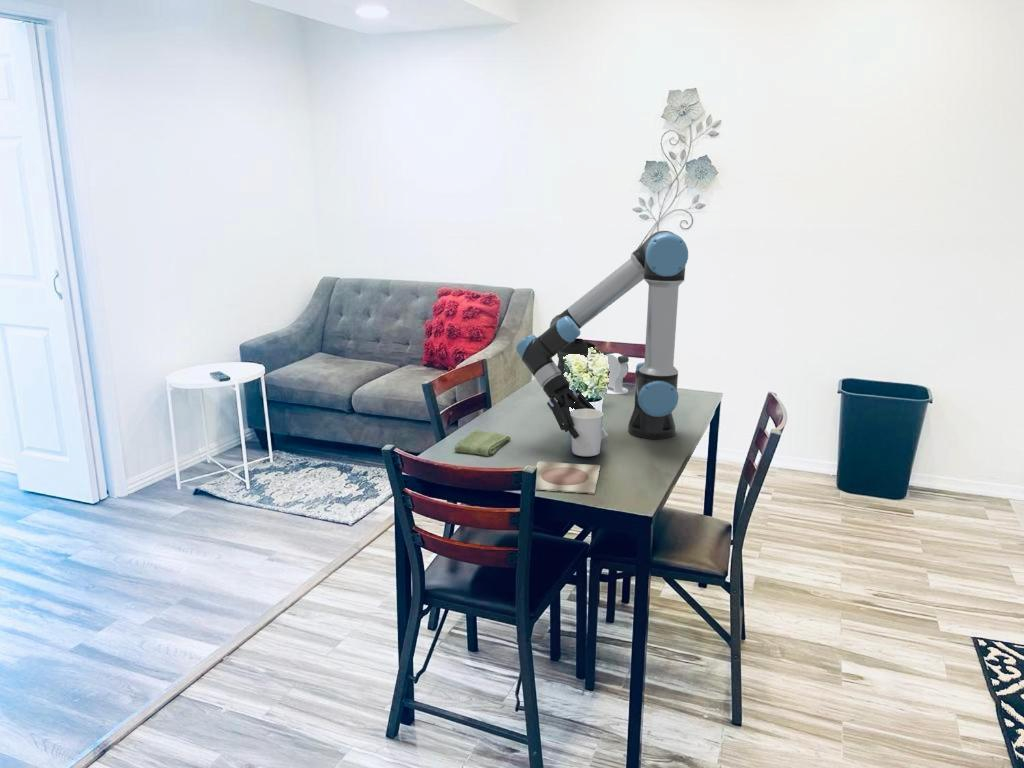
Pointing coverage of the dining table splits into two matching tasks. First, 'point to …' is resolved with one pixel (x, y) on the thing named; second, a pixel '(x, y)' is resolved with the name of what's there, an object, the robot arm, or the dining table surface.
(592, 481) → the card
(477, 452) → the washcloth
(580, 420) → the white tapered cylinder
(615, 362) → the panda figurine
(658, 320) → the robot arm
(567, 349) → the black tall bulky piece
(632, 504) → the dining table surface
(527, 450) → the dining table surface
